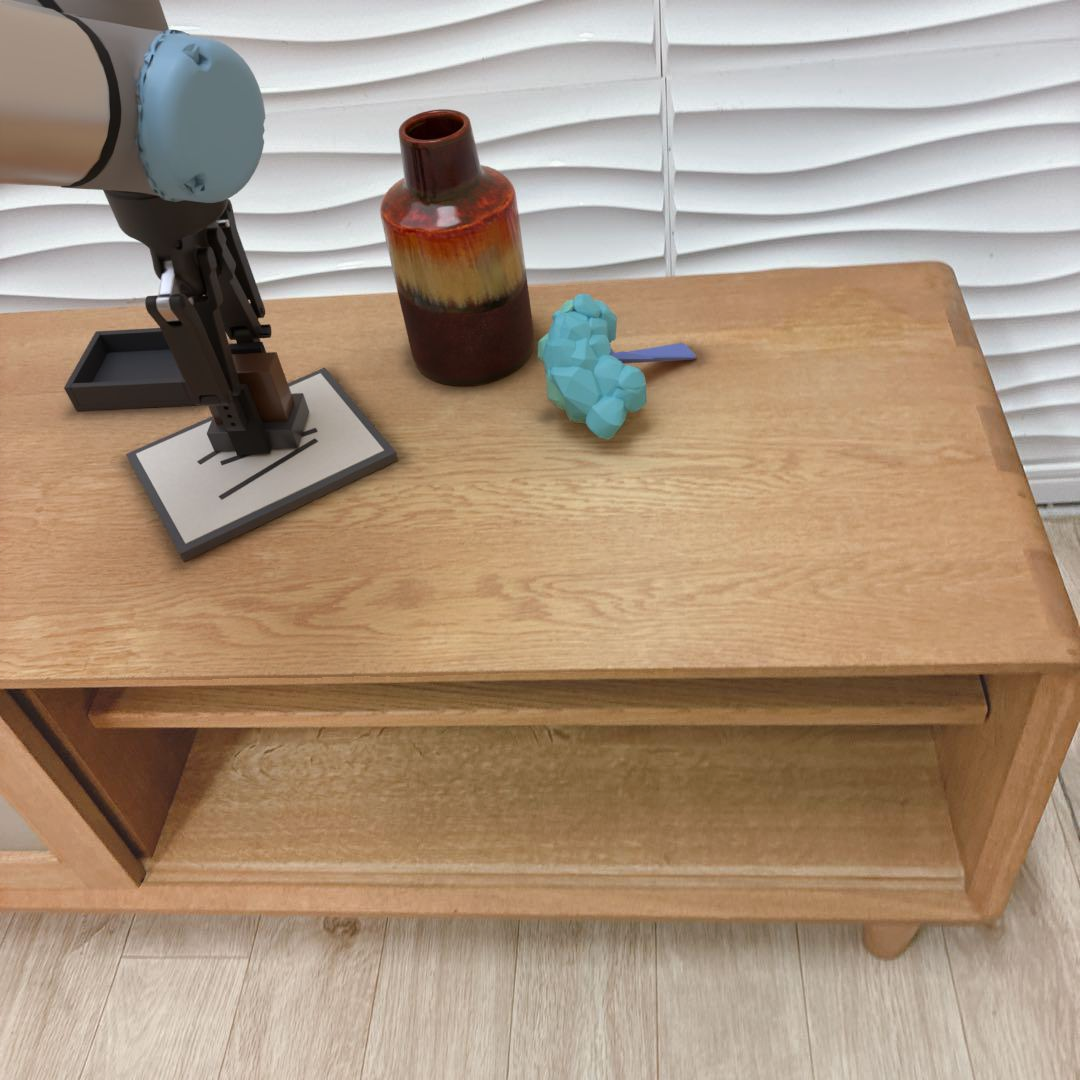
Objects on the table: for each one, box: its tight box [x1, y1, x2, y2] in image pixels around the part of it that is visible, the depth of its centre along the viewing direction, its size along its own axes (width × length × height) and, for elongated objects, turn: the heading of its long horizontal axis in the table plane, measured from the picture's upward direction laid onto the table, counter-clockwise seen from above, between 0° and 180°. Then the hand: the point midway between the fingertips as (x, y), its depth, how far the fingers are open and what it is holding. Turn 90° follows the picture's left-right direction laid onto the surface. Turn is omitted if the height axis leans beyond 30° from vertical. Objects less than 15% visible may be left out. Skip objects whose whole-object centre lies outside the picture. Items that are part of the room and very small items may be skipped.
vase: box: [379, 108, 535, 387], centre depth 87 cm, size 11×11×20 cm
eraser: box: [207, 351, 309, 452], centre depth 85 cm, size 7×4×7 cm, turn 87°
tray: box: [63, 327, 196, 412], centre depth 95 cm, size 11×8×3 cm
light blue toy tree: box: [523, 292, 697, 440], centre depth 87 cm, size 11×9×15 cm
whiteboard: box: [125, 367, 399, 562], centre depth 87 cm, size 18×14×1 cm
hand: (261, 429), depth 87 cm, fingers closed on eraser, 4 cm apart
